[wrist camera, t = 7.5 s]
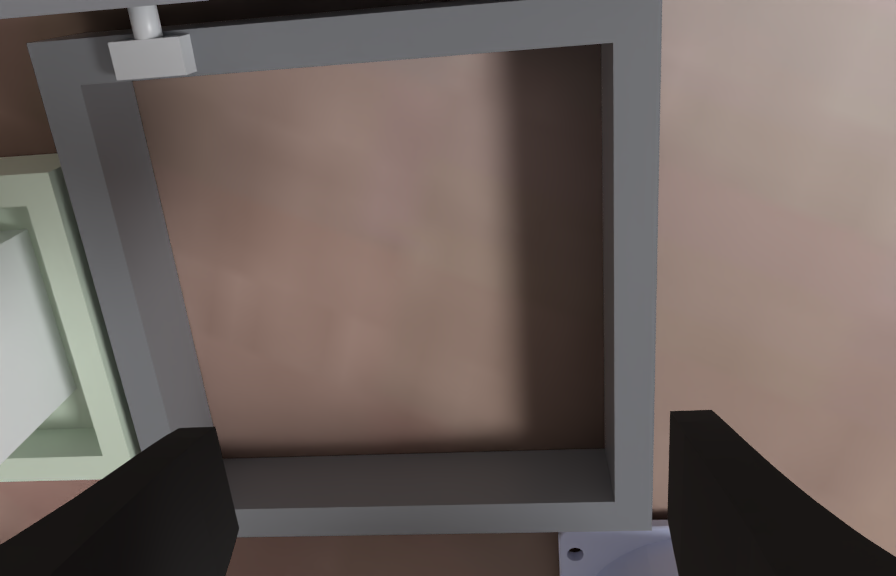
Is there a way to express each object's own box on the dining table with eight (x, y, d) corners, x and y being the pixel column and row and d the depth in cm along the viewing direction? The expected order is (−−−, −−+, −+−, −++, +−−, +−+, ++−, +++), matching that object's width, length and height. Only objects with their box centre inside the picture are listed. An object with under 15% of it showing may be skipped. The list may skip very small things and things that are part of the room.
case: (638, 475, 24) (668, 599, 19) (197, 485, 25) (127, 602, 21) (644, -82, 18) (690, -94, 13) (67, -26, 19) (-71, -21, 15)
